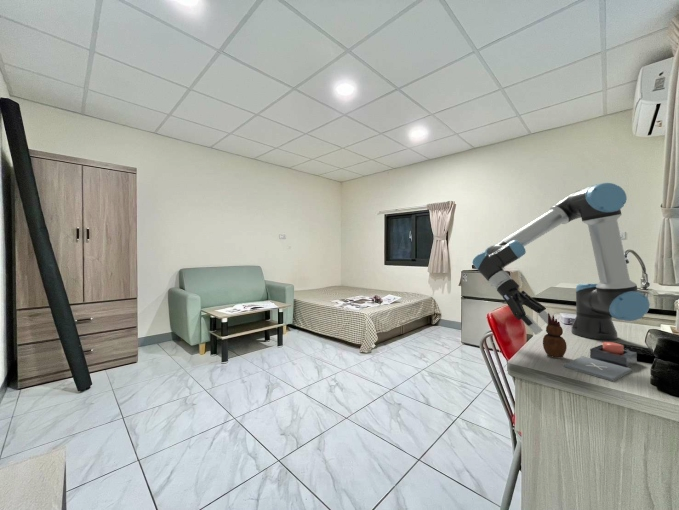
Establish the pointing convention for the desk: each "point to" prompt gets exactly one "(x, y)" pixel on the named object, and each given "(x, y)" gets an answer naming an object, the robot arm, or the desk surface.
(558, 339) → the wooden figurine
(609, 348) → the button
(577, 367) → the slate board
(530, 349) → the desk surface
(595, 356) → the button housing
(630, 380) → the desk surface
